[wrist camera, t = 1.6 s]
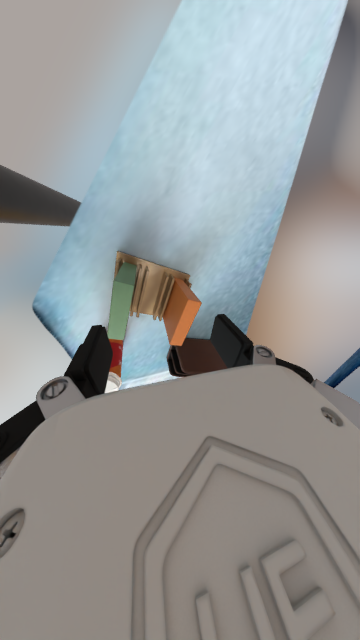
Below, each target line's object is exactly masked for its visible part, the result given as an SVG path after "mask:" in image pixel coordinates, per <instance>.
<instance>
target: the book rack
mask: <svg viewBox="0 0 360 640" xmlns="http://www.w3.org/2000/svg"><path fill="white" fill-rule="evenodd" d="M124 262H127V263H130V264H133V265H136V266H137V268H136V276H135V284H134V290H133V295H132V300H131V306H130V311H131V312H130V316H132V315H133V312H137V314H136V317H139V313H143V314H149V315H153V319H154V320H156V317H157V316H158V318H159V321H161V320H162V317H163V314H164V311H165V308H166V305H167V302H168V299H169V296H170V293H171V290H172V287H173V284H174V281H175V278H178V279H181V280H183V281H184V282H185V283H186V285H187V286H188V287H189V288H191V285H192V284H191V283H190V282H189V281H188V280H189V277H190V275H189V274H186V273H183V272H180V271H177V270H174V269H171V268H168V267H165V266H162V265H159V264H156V263H153V262H150V261H147V260H144V259H141V258H138V257H135V256H132V255H129V254H126V253H123V252H120V251H117V257H116V266H115V274H114V279H115V277H116V275H117V274H118V272H119V270H120V268H121V266H122V265H123V263H124ZM174 277H175V278H174Z"/></svg>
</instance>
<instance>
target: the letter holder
mask: <svg viewBox="0 0 360 640" xmlns="http://www.w3.org/2000/svg"><path fill="white" fill-rule="evenodd" d="M167 362H168V366H169V372H170V374H171V375H172V376H177V377H187V376H192V375H197V374H202V373H208V372H213V371H218V370H223V369H228V368H227V366H226V365H225V363H224V362H223V360H222V359H221V357H220V355H219V354H218V352H217V351H216V349H215V347H214V346H213V344H212V343H211V340H203V339H189V338H185V340H184V342H183V344H182V346H177V345H171V346H170V349H169V352H168V355H167Z"/></svg>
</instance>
